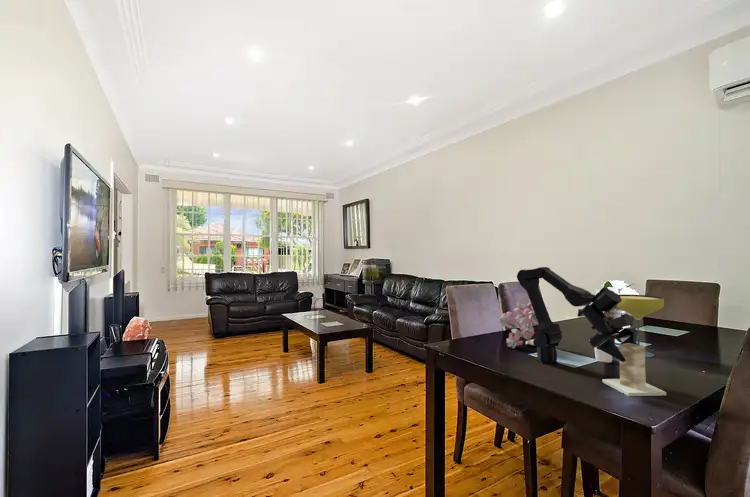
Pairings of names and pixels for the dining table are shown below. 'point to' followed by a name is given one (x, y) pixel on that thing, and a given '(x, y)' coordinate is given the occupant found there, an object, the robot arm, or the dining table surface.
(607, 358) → the shot glass
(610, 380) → the coaster board
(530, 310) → the flower
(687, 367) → the dining table surface
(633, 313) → the cocktail glass
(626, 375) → the birch block
